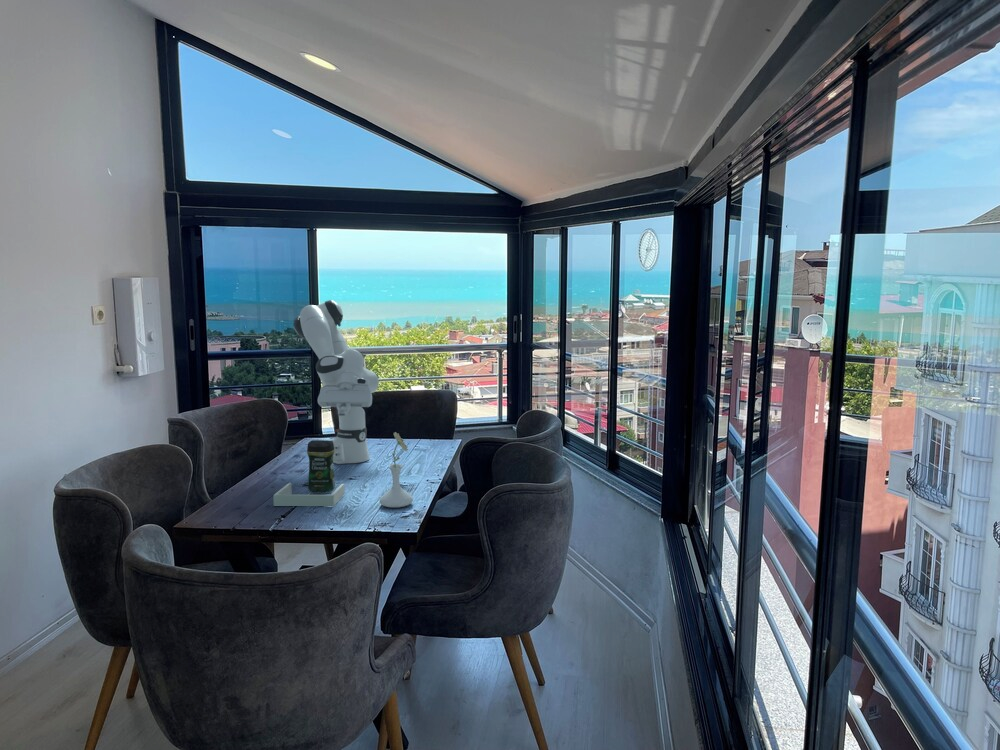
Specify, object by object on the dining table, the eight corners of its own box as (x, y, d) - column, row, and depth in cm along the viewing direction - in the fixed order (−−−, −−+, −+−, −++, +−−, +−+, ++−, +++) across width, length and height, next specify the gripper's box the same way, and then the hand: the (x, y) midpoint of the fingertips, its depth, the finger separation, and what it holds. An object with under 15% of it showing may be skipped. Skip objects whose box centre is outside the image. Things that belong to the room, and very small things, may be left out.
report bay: (288, 493, 237) (288, 483, 237) (344, 494, 236) (344, 483, 236) (273, 506, 223) (273, 495, 222) (333, 507, 222) (332, 495, 221)
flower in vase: (412, 510, 219) (411, 436, 216) (377, 511, 218) (376, 437, 215) (414, 498, 232) (413, 429, 229) (381, 499, 231) (380, 429, 228)
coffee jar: (305, 492, 239) (303, 442, 237) (312, 486, 247) (310, 438, 245) (331, 492, 238) (330, 442, 236) (337, 486, 246) (336, 438, 244)
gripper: (319, 380, 250) (312, 409, 241) (372, 380, 249) (367, 410, 241) (323, 390, 255) (316, 419, 246) (375, 390, 254) (370, 419, 246)
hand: (341, 414), depth 244 cm, fingers closed
